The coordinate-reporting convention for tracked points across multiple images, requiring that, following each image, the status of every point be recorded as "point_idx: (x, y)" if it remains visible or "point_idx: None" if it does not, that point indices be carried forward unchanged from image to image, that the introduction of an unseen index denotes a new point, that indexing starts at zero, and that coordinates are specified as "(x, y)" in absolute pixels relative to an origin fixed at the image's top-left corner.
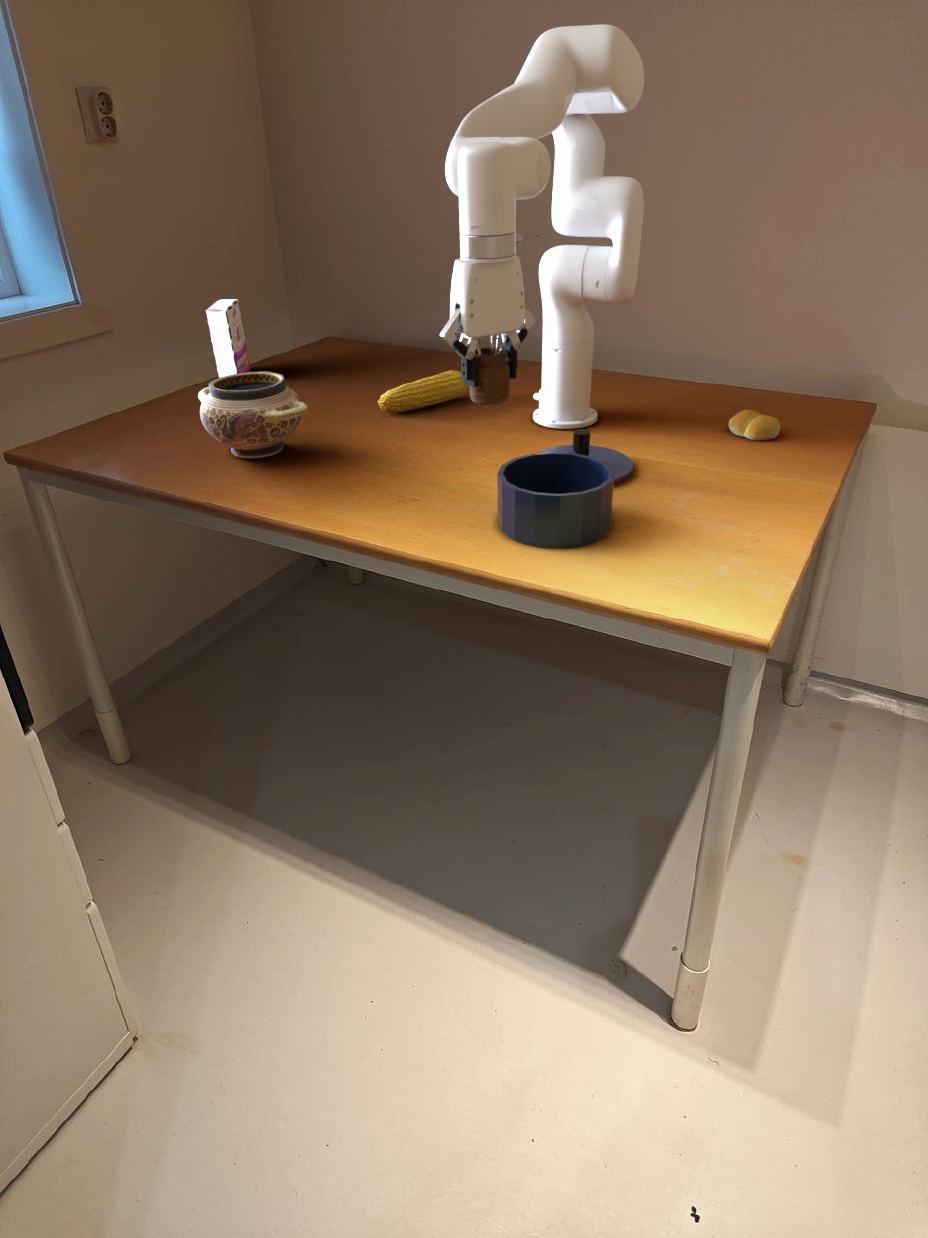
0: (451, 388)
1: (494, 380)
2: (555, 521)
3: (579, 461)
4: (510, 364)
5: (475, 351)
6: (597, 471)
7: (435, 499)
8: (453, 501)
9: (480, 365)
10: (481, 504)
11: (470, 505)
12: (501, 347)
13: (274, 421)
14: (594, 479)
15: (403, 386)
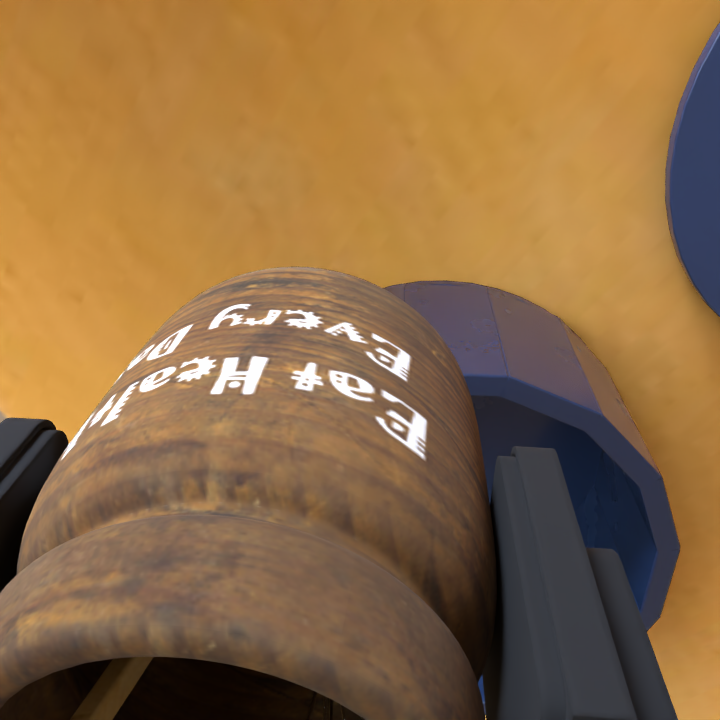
0: None
1: (219, 683)
2: None
3: (639, 500)
4: (492, 709)
5: (32, 678)
6: (634, 562)
7: (177, 17)
8: (236, 89)
9: (67, 718)
10: (319, 186)
11: (277, 168)
12: (571, 714)
13: None
14: (627, 524)
15: None
